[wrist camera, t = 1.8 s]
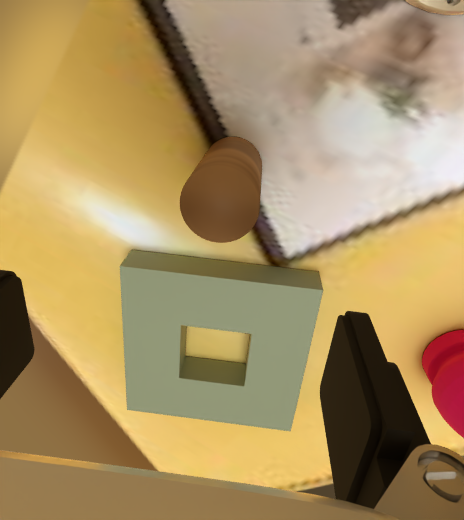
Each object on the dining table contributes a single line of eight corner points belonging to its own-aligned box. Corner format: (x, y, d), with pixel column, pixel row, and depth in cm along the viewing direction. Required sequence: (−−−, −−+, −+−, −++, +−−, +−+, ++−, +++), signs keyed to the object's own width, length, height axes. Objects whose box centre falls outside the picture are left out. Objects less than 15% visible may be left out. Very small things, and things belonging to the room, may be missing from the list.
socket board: (131, 249, 33) (119, 266, 30) (318, 271, 33) (323, 290, 30) (136, 386, 40) (127, 409, 38) (289, 406, 40) (290, 431, 37)
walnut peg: (205, 133, 28) (180, 161, 20) (265, 139, 28) (264, 170, 20) (202, 191, 30) (178, 237, 22) (258, 197, 30) (254, 246, 22)
